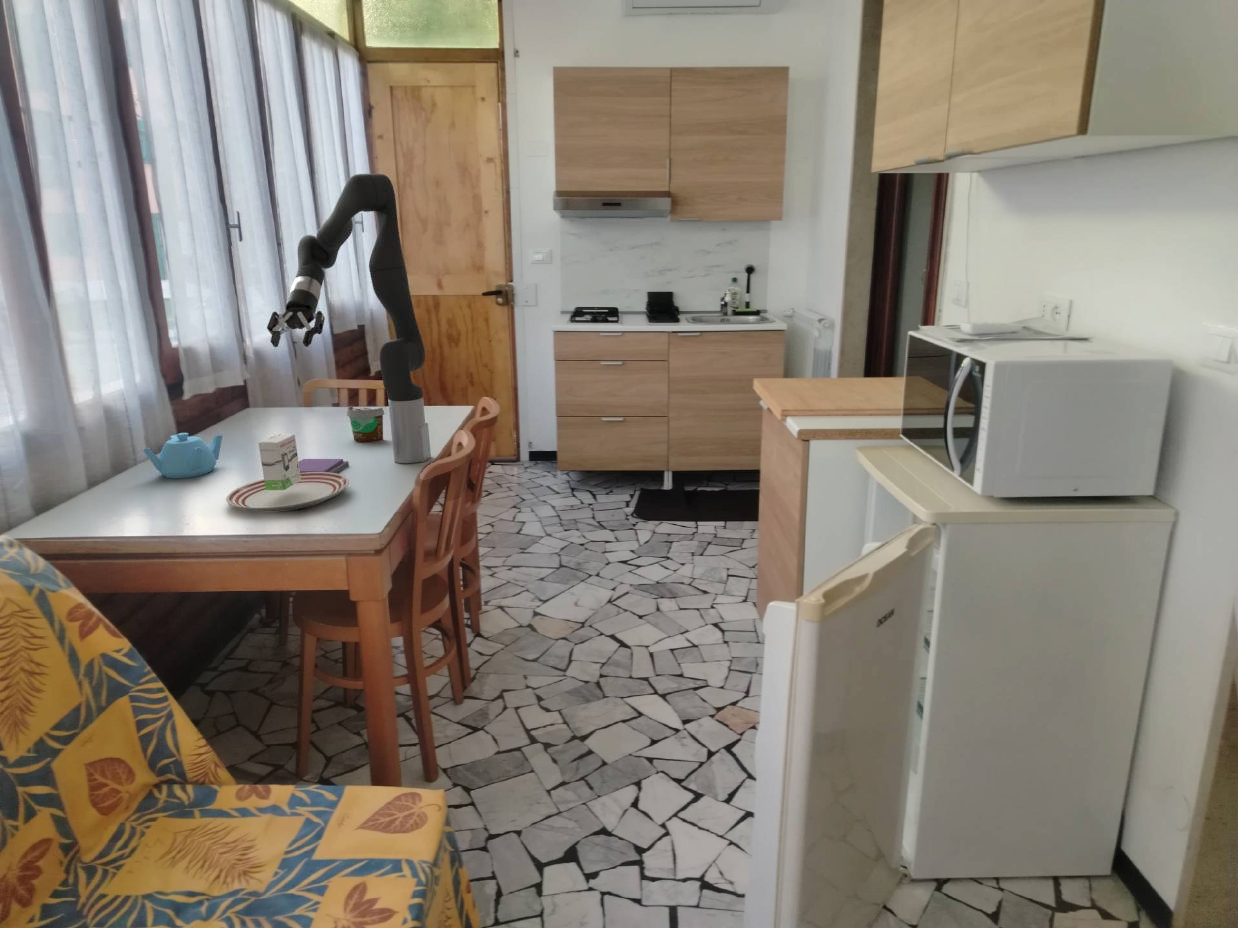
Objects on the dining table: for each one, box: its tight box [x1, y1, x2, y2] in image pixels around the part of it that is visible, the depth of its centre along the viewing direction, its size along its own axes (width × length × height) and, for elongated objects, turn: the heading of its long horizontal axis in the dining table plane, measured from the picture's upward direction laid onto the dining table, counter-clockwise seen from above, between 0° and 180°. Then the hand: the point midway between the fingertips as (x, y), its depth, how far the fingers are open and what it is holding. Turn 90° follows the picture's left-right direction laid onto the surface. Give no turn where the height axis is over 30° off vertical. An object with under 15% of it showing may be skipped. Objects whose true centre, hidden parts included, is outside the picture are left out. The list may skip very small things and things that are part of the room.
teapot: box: [142, 432, 223, 479], centre depth 222 cm, size 15×15×11 cm
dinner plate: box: [225, 472, 350, 512], centre depth 198 cm, size 27×27×3 cm
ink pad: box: [298, 458, 350, 474], centre depth 220 cm, size 13×14×2 cm
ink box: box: [258, 433, 301, 490], centre depth 198 cm, size 9×5×12 cm, turn 173°
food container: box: [346, 405, 385, 444], centre depth 251 cm, size 12×6×10 cm, turn 68°
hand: (289, 345), depth 219 cm, fingers open, 8 cm apart
